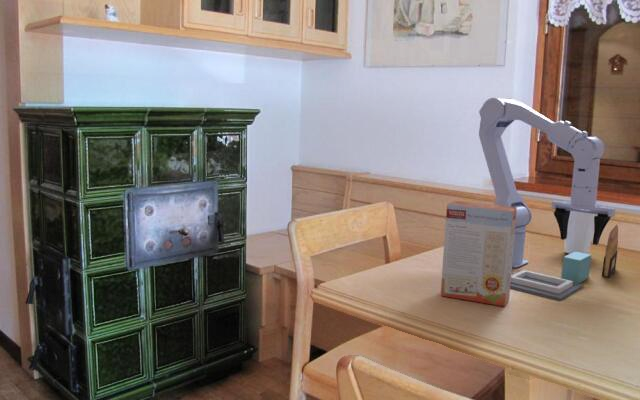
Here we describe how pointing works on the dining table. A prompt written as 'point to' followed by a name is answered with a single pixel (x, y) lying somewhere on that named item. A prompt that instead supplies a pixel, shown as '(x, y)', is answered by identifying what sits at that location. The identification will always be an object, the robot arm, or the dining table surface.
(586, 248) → the cup
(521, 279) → the grey square tray
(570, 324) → the dining table surface
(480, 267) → the cracker box
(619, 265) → the dining table surface
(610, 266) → the ammunition clip
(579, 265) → the light blue rectangular block
